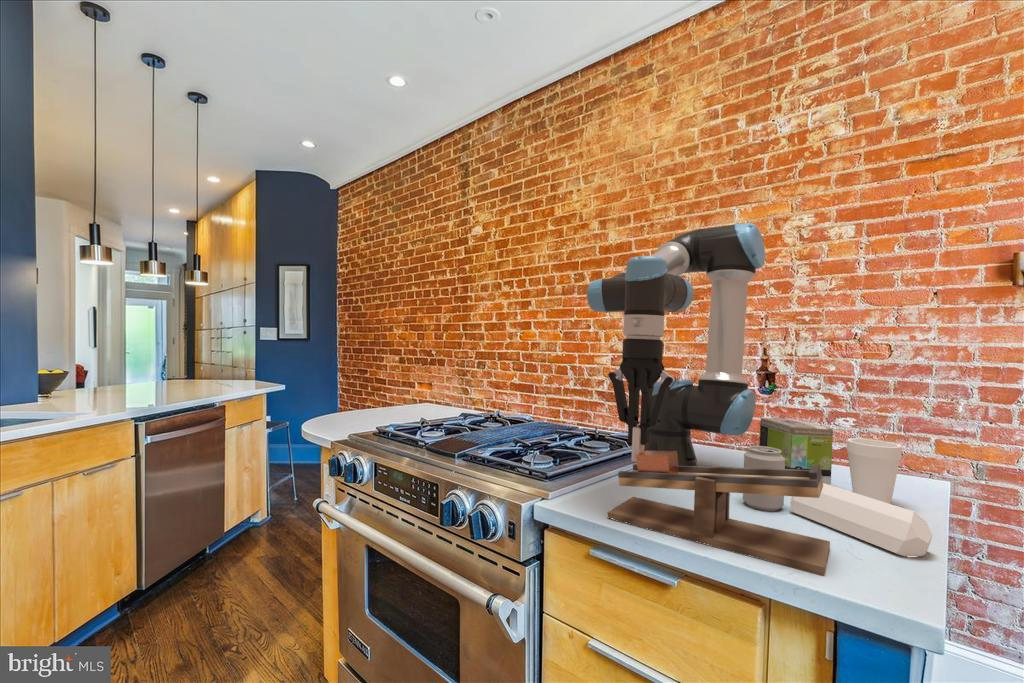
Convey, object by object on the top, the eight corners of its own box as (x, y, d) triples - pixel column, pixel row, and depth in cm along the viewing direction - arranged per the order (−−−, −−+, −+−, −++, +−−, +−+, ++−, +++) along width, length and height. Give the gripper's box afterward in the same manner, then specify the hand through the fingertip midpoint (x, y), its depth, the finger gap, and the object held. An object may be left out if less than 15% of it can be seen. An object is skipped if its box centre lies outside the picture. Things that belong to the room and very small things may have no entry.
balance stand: (607, 518, 90) (609, 462, 90) (632, 502, 100) (634, 451, 100) (824, 575, 70) (826, 503, 70) (829, 548, 80) (831, 484, 79)
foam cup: (850, 493, 111) (852, 436, 111) (902, 503, 104) (904, 443, 104) (841, 502, 104) (842, 441, 104) (895, 514, 97) (897, 449, 97)
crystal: (775, 492, 97) (904, 540, 75) (799, 472, 99) (932, 513, 76) (788, 522, 99) (919, 578, 76) (811, 502, 100) (946, 551, 78)
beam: (619, 485, 91) (617, 466, 91) (635, 476, 97) (634, 459, 98) (819, 498, 72) (815, 474, 72) (823, 485, 79) (820, 464, 79)
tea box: (832, 492, 112) (834, 428, 112) (788, 490, 112) (791, 426, 112) (795, 474, 127) (797, 417, 127) (756, 472, 127) (758, 416, 127)
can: (789, 514, 96) (790, 453, 96) (748, 510, 97) (750, 450, 97) (776, 502, 103) (778, 445, 103) (738, 498, 104) (740, 443, 104)
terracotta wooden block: (638, 476, 90) (636, 454, 91) (648, 471, 94) (646, 450, 95) (670, 478, 87) (667, 455, 87) (679, 472, 91) (676, 451, 91)
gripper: (603, 336, 94) (598, 458, 94) (669, 338, 86) (663, 471, 86) (619, 337, 100) (614, 451, 100) (683, 339, 92) (677, 463, 92)
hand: (637, 460), depth 93 cm, fingers closed
